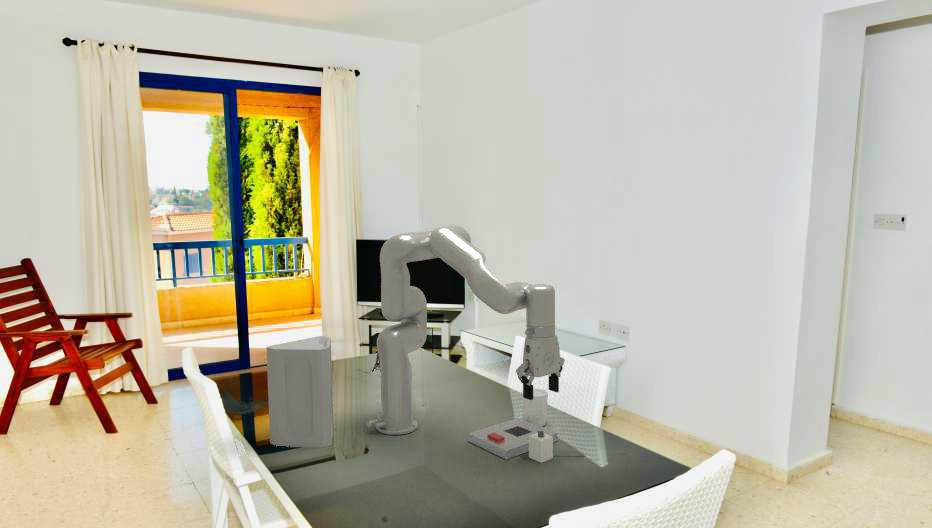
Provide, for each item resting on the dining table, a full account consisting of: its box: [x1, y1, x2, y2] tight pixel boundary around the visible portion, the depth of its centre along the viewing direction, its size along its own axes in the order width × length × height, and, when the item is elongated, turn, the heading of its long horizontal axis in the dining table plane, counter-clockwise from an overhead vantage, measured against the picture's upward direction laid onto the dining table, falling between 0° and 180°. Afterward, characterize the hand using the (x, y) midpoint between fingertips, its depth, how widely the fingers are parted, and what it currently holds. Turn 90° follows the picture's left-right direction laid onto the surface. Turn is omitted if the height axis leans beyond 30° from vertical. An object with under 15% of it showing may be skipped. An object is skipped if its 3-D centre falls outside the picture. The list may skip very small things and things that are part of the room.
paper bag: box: [265, 335, 334, 448], centre depth 173 cm, size 19×15×28 cm
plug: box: [528, 431, 554, 463], centre depth 160 cm, size 4×4×7 cm
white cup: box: [521, 387, 549, 427], centre depth 186 cm, size 8×8×10 cm
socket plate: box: [467, 417, 559, 460], centre depth 172 cm, size 20×16×3 cm
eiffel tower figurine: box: [371, 349, 380, 372], centre depth 245 cm, size 15×10×13 cm
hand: (541, 394), depth 159 cm, fingers open, 9 cm apart
